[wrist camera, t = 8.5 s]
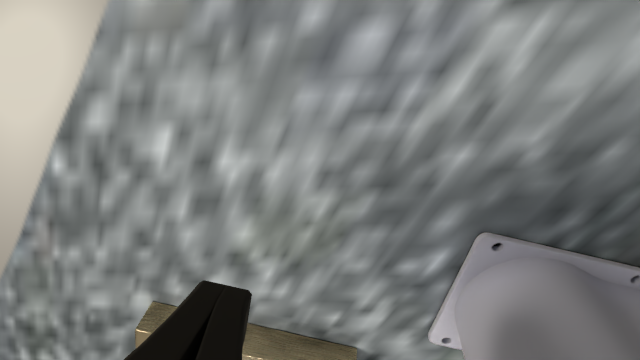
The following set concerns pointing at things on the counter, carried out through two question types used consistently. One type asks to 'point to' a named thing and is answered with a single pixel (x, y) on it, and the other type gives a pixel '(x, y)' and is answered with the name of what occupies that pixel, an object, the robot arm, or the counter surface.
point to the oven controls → (258, 340)
